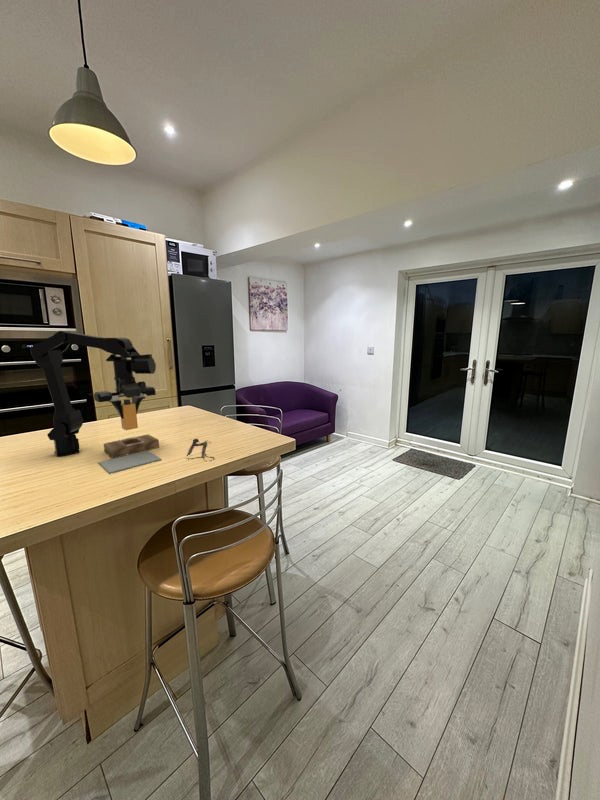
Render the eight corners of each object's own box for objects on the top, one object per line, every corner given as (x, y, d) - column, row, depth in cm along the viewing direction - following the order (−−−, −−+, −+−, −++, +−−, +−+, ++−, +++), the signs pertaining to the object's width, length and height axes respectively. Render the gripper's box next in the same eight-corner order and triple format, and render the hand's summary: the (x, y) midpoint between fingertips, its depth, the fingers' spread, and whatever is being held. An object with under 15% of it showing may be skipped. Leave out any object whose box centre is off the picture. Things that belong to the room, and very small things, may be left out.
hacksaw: (193, 441, 131) (193, 438, 131) (219, 440, 133) (219, 436, 132) (182, 464, 108) (182, 459, 107) (214, 461, 109) (214, 457, 109)
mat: (109, 474, 99) (109, 472, 99) (98, 463, 107) (98, 462, 107) (161, 460, 110) (161, 458, 110) (147, 451, 118) (147, 450, 118)
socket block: (113, 458, 112) (112, 449, 111) (104, 451, 119) (103, 442, 118) (159, 447, 123) (158, 438, 123) (148, 441, 130) (148, 433, 130)
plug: (126, 430, 114) (122, 401, 112) (122, 428, 116) (118, 399, 114) (137, 428, 116) (134, 399, 114) (133, 426, 119) (130, 398, 117)
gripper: (101, 378, 101) (107, 426, 104) (160, 373, 114) (164, 416, 117) (90, 375, 108) (96, 420, 111) (147, 371, 121) (151, 411, 124)
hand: (128, 417), depth 116 cm, fingers closed on plug, 4 cm apart
